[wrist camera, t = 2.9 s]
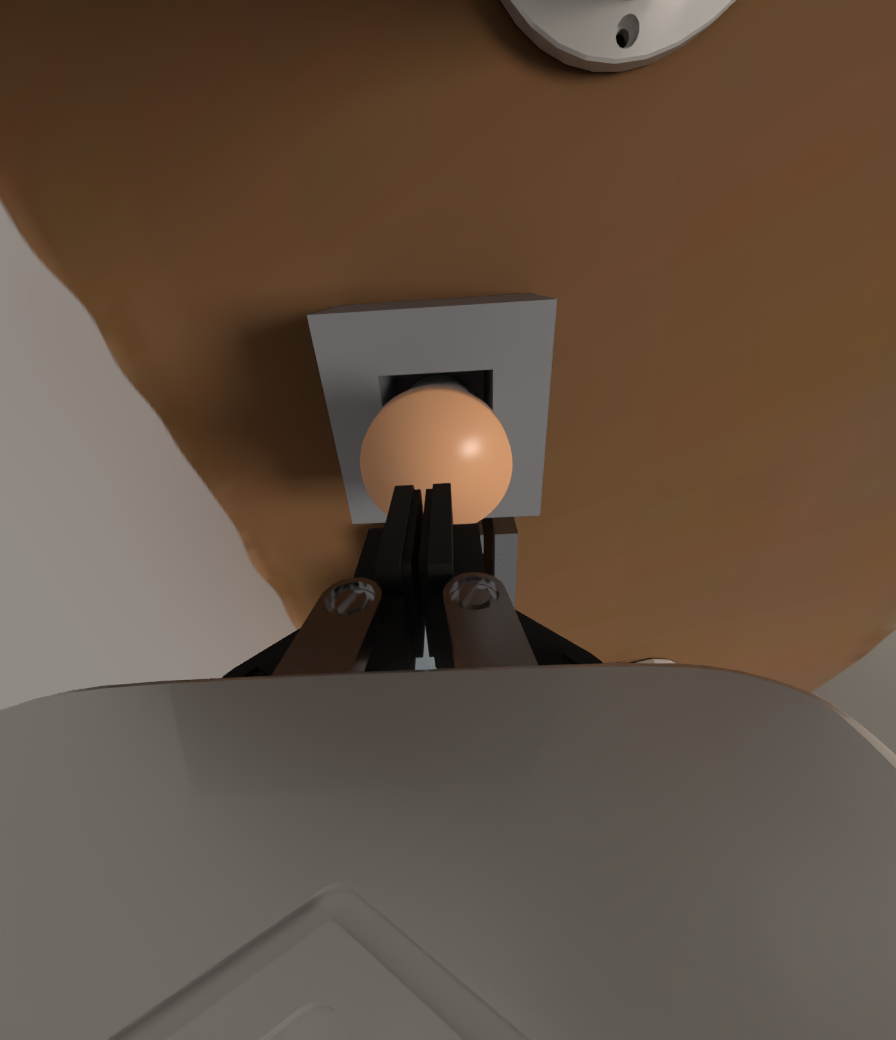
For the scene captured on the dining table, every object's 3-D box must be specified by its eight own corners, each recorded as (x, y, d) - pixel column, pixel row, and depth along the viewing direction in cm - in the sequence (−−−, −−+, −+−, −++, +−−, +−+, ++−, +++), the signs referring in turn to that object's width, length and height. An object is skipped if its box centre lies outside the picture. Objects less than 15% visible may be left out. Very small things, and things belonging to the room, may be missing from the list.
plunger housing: (341, 305, 21) (306, 315, 16) (530, 292, 20) (556, 299, 15) (371, 475, 26) (352, 523, 21) (521, 467, 26) (539, 515, 21)
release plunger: (377, 360, 19) (346, 396, 13) (495, 353, 18) (515, 387, 13) (392, 468, 22) (372, 535, 16) (494, 463, 21) (510, 529, 16)
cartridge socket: (386, 519, 28) (381, 539, 26) (512, 513, 28) (517, 533, 26) (401, 610, 33) (398, 633, 31) (509, 606, 32) (513, 629, 30)
